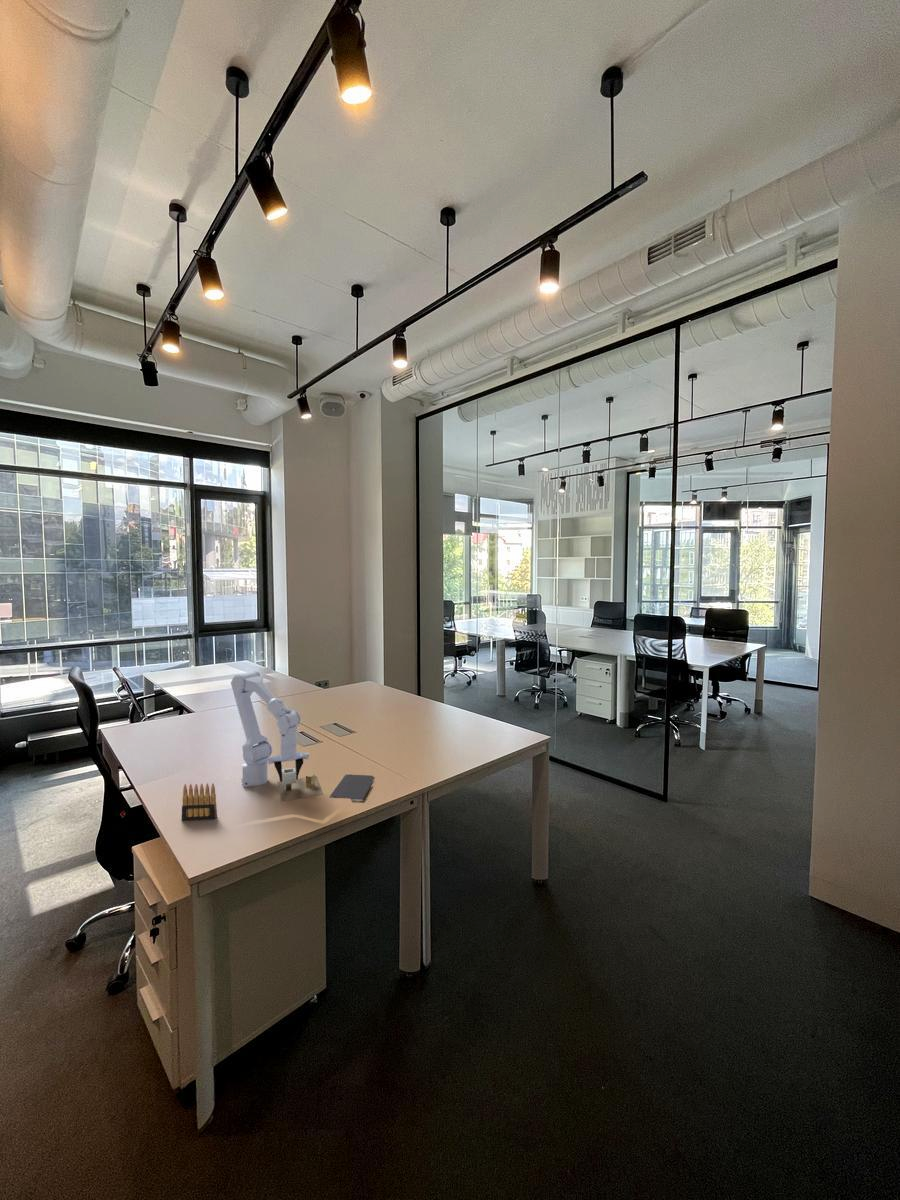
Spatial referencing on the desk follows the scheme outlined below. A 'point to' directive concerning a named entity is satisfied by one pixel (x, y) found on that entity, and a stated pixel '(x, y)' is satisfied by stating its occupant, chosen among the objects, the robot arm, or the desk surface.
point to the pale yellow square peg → (310, 780)
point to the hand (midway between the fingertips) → (288, 779)
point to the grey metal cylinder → (288, 787)
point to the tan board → (299, 790)
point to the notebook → (353, 787)
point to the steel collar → (288, 776)
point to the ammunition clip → (199, 803)
